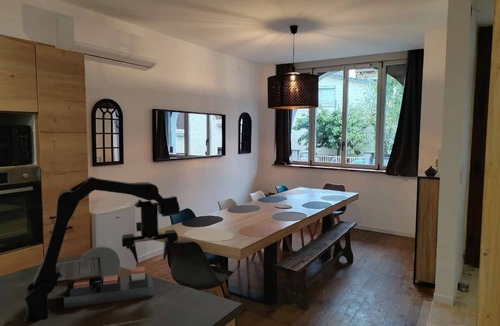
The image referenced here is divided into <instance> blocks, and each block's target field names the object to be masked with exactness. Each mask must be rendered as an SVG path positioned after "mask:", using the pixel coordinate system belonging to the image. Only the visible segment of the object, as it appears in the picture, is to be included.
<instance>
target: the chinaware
mask: <svg viewBox="0 0 500 326" xmlns="http://www.w3.org/2000/svg"><path fill="white" fill-rule="evenodd" d="M97 257H100V259H101V263H102V278H104V277H106V276H114V275H118V274H119V272H120V269H121V263H122V262H121V257H120V256H119V254H118V253H117V251H116V250H114V249H113V248H112V247H111V248H110V247H107V246H96V247H94V248H90V249H89V250H88V251H86V252H85V253H84V254H83V255H82V256H81V257H80V259H79V260H84V259H90V258H97ZM96 282H101V281H96ZM93 283H94V282H93Z"/></svg>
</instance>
